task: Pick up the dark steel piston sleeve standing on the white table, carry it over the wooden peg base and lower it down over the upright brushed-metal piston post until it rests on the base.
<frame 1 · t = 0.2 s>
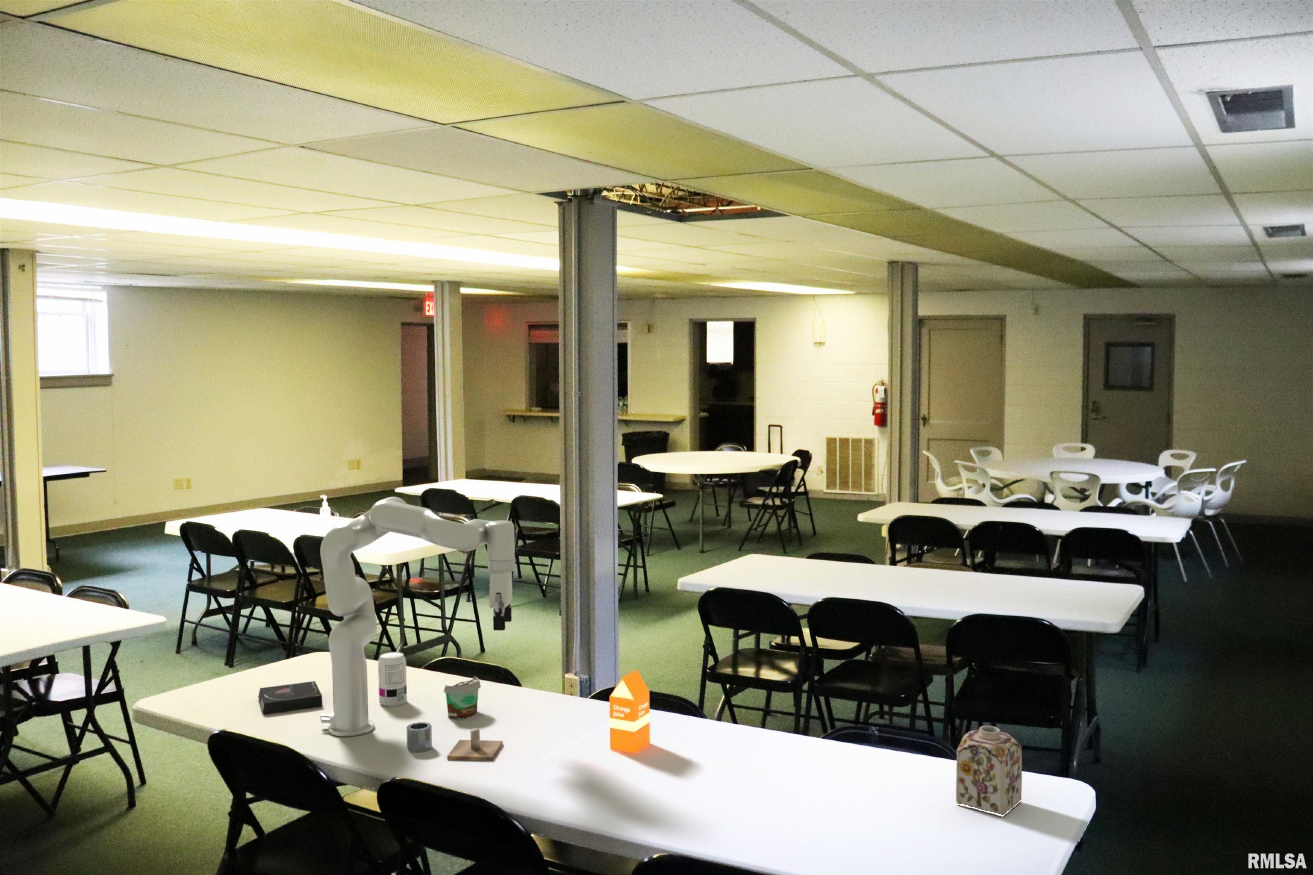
hand: (502, 625, 297), 31 cm above the table, tool pointing down, fingers open, 9 cm apart
food container: (467, 716, 314), on the table
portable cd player: (289, 705, 327), on the table
supplement can: (393, 703, 326), on the table
piston sleeve: (419, 747, 288), on the table
wooden peg base: (475, 751, 285), on the table
decorative jar: (988, 804, 248), on the table
orange juice: (630, 746, 288), on the table
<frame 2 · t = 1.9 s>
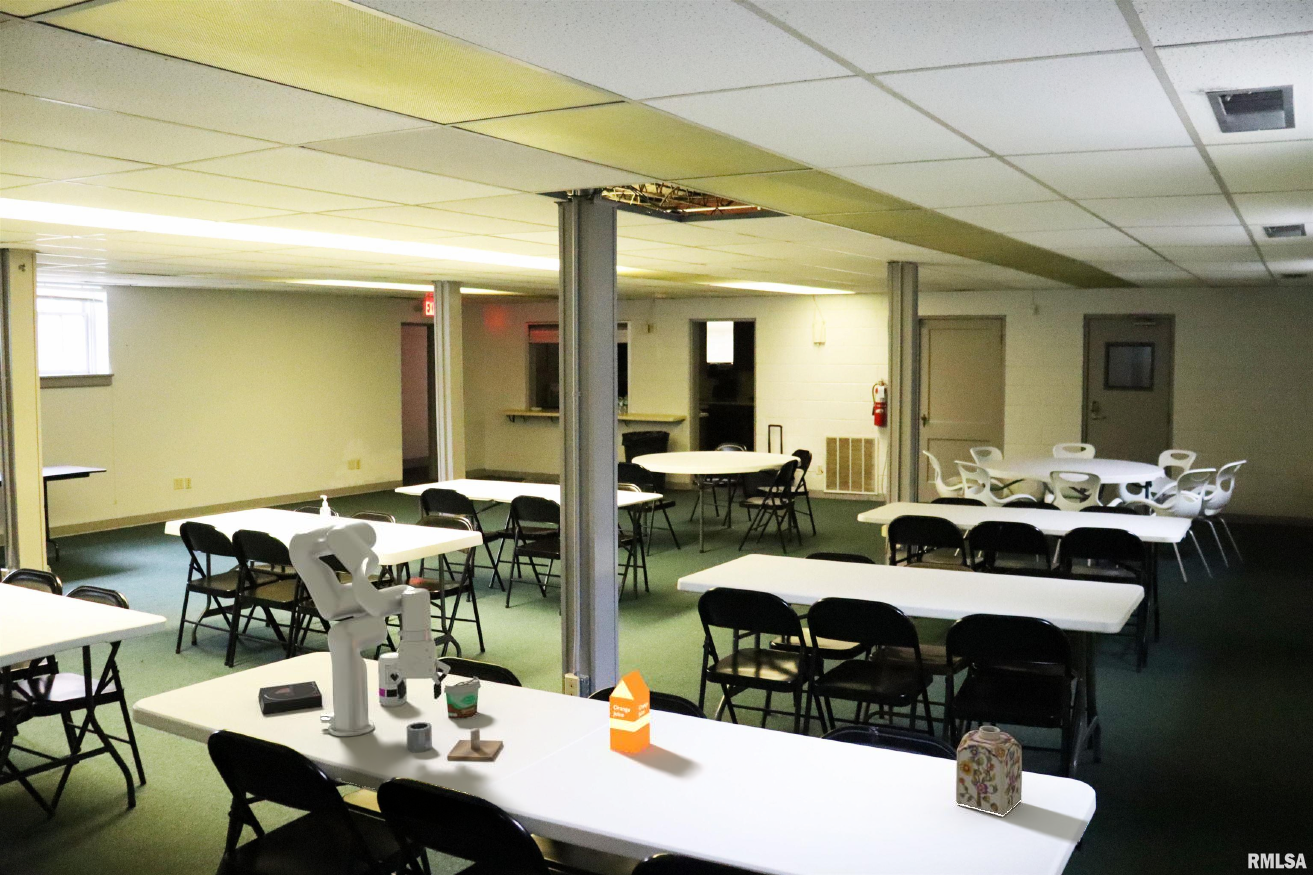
hand: (419, 697, 287), 14 cm above the table, tool pointing down, fingers open, 9 cm apart
nothing on the table moved.
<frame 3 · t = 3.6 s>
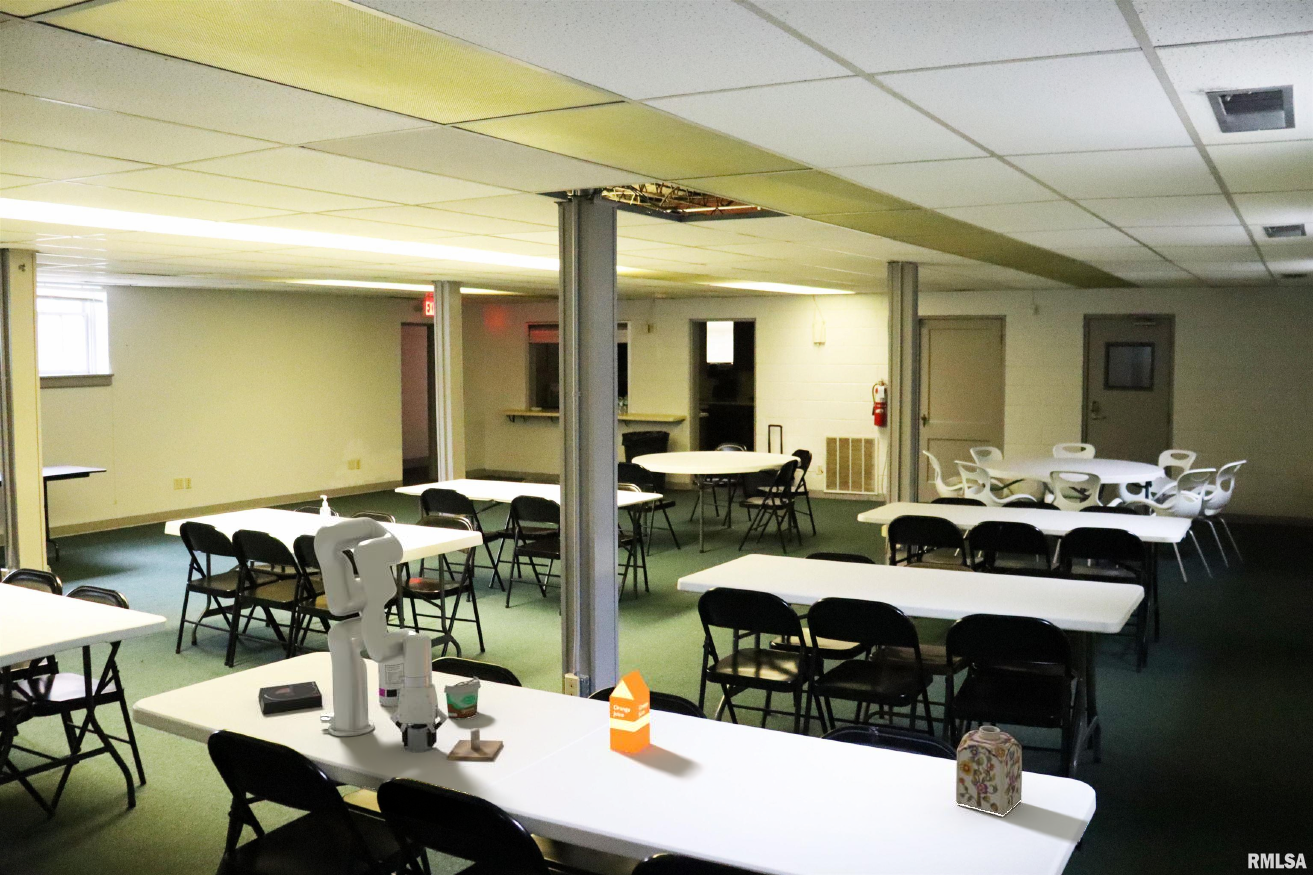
hand: (419, 744, 288), 1 cm above the table, tool pointing down, fingers closed on piston sleeve, 6 cm apart
piston sleeve: (419, 747, 288), on the table, touching gripper
everything else where it was.
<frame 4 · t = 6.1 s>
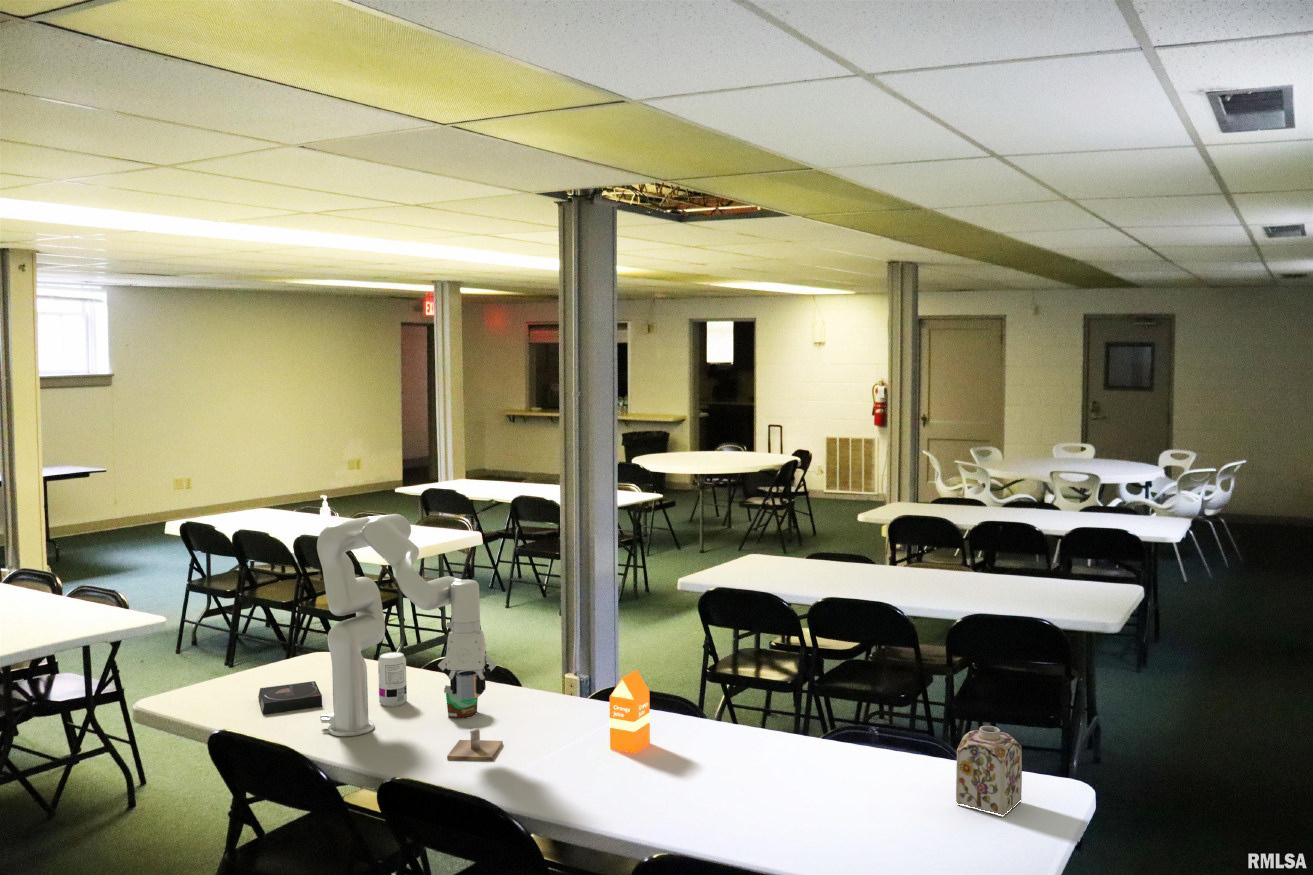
hand: (468, 692, 284), 16 cm above the table, tool pointing down, fingers closed on piston sleeve, 6 cm apart
piston sleeve: (468, 695, 284), point 15 cm above the table, touching gripper
everything else where it was.
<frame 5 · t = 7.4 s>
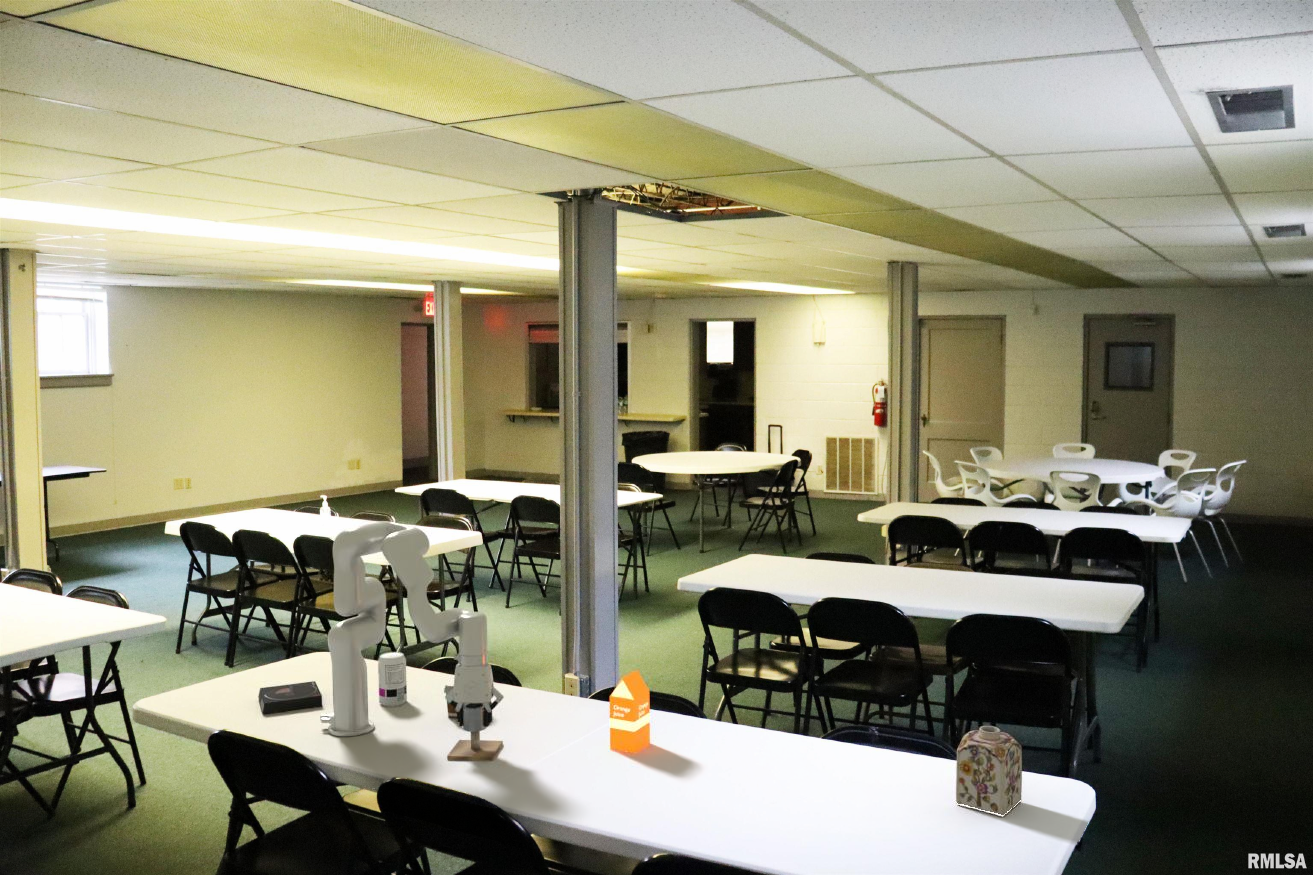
hand: (474, 724, 284), 8 cm above the table, tool pointing down, fingers closed on piston sleeve, 6 cm apart
piston sleeve: (474, 727, 284), point 7 cm above the table, touching gripper
everything else where it was.
when the fingers open (4 cm above the table, at t = 8.7 s): piston sleeve drops 2 cm, resting on wooden peg base.
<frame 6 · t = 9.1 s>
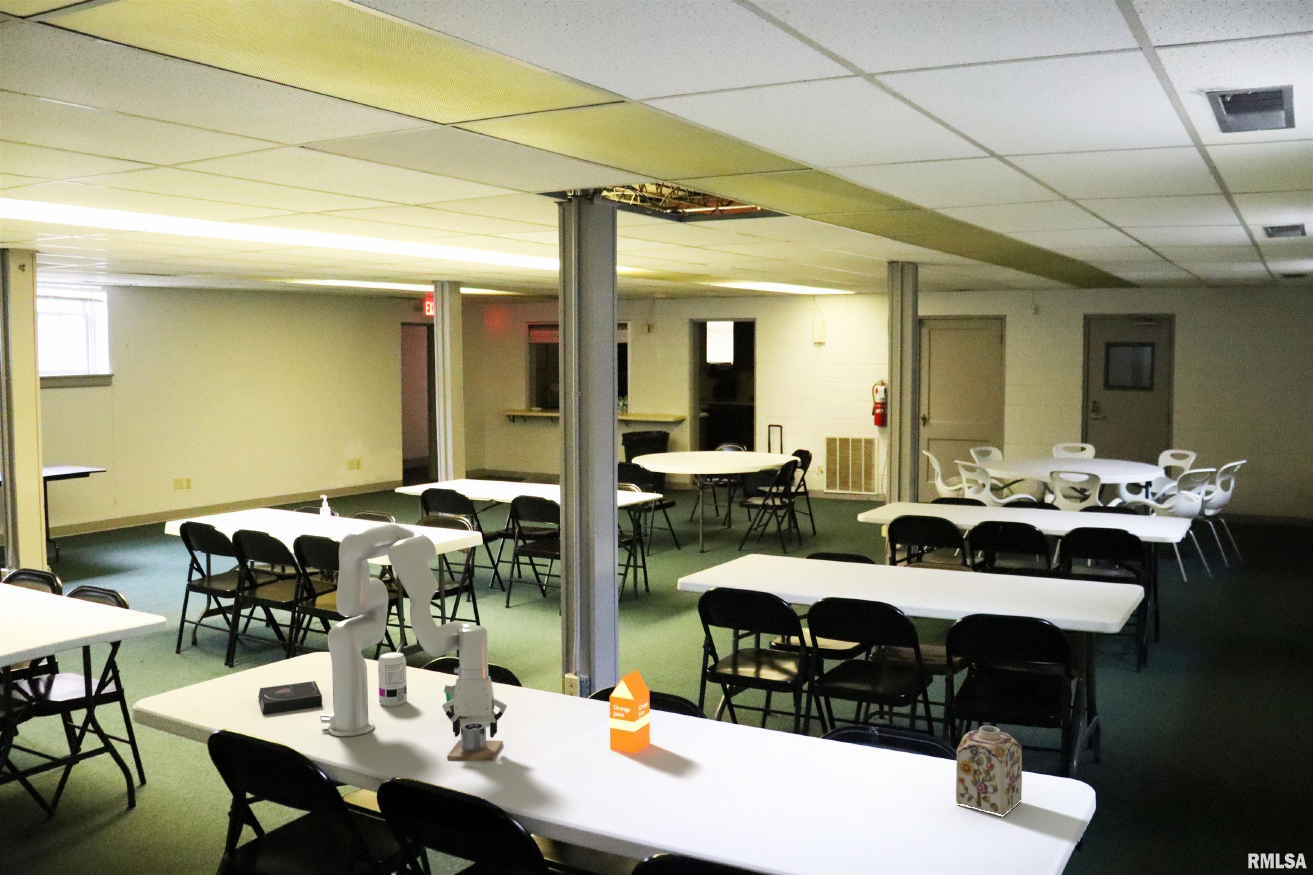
hand: (475, 735, 284), 5 cm above the table, tool pointing down, fingers open, 9 cm apart
piston sleeve: (473, 748, 284), point 1 cm above the table, touching wooden peg base
everything else where it was.
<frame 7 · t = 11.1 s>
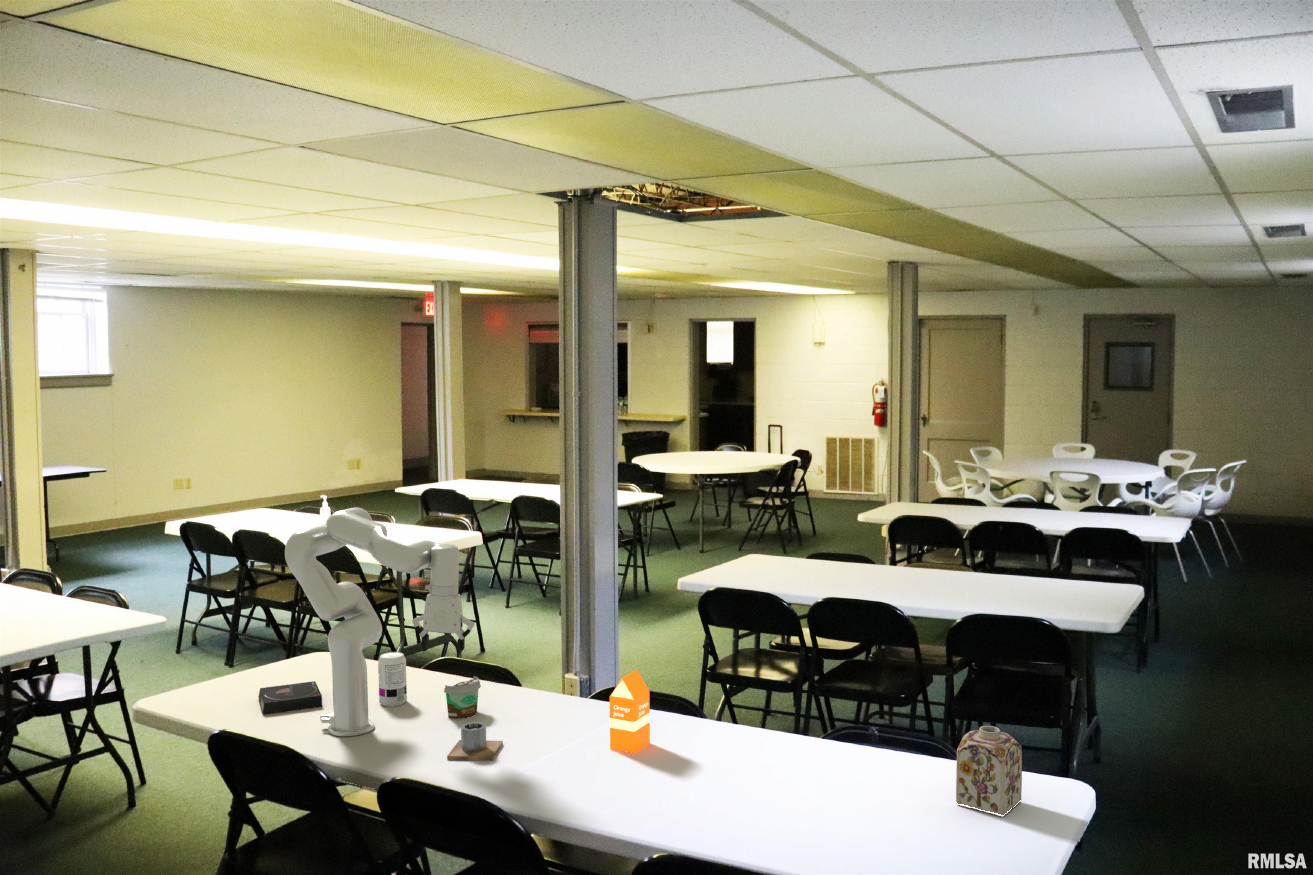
hand: (442, 651, 292), 25 cm above the table, tool pointing down, fingers open, 9 cm apart
nothing on the table moved.
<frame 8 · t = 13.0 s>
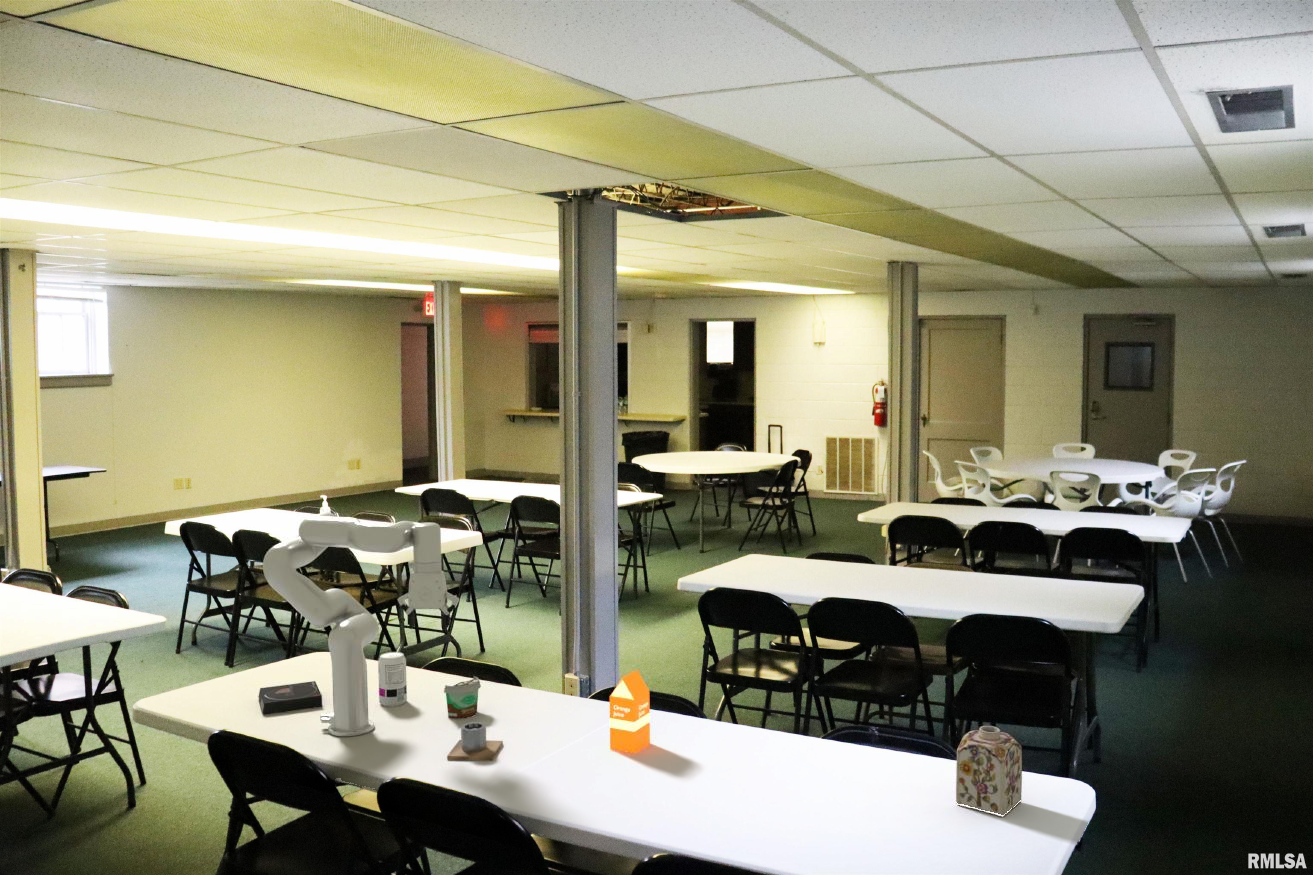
hand: (429, 627, 297), 30 cm above the table, tool pointing down, fingers open, 9 cm apart
nothing on the table moved.
at the end: piston sleeve 0.4 cm off-centre on the wooden peg base, point 1.0 cm above the wooden peg base's base; piston sleeve tilted 0°; the gripper is holding nothing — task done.
